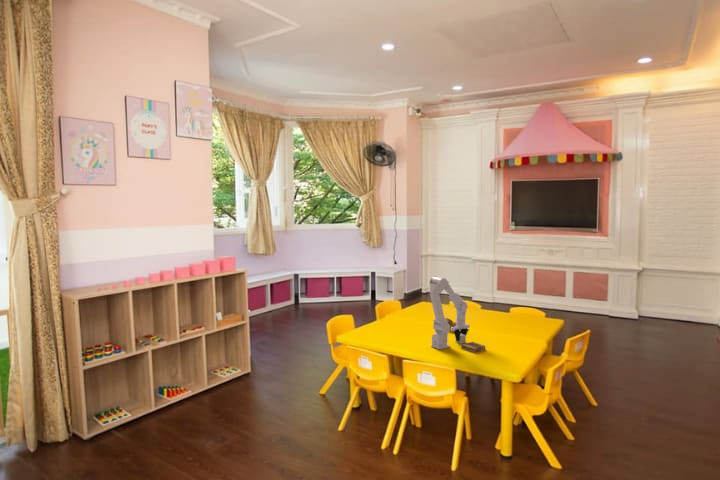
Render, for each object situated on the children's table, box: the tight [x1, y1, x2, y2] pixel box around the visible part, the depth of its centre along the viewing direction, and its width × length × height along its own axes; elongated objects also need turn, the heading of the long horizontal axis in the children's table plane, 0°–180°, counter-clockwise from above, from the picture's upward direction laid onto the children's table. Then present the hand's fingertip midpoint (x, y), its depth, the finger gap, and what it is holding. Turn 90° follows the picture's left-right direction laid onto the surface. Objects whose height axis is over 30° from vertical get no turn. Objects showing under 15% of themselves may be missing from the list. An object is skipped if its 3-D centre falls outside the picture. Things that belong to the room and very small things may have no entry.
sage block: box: [455, 334, 467, 345], centre depth 286 cm, size 4×4×5 cm
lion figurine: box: [445, 317, 461, 332], centre depth 311 cm, size 15×5×9 cm, turn 67°
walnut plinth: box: [460, 341, 486, 354], centre depth 273 cm, size 10×10×3 cm
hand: (460, 340), depth 286 cm, fingers closed on sage block, 4 cm apart
